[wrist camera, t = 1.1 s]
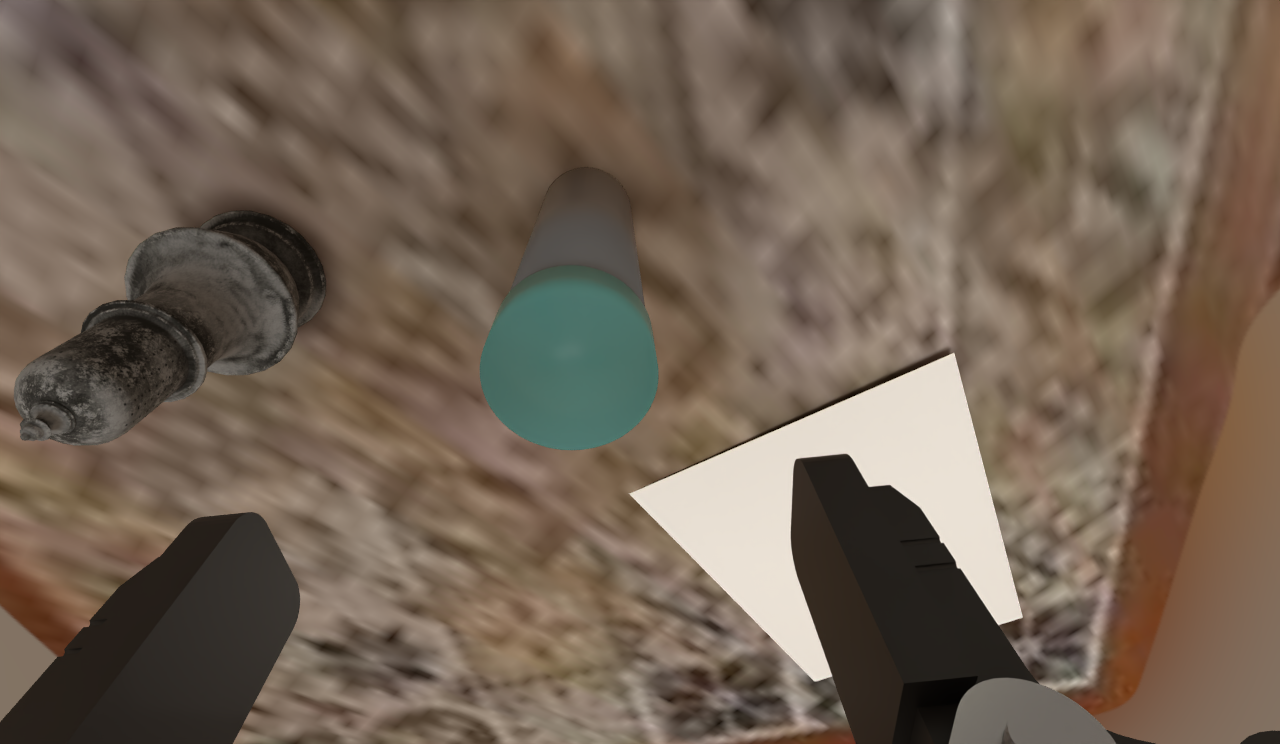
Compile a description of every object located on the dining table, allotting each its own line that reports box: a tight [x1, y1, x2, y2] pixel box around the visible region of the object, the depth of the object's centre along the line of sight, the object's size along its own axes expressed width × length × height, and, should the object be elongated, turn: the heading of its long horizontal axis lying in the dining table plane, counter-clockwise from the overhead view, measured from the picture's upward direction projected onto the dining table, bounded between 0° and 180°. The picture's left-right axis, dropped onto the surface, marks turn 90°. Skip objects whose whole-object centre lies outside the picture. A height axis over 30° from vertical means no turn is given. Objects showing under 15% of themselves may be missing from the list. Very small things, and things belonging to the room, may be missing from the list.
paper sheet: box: [630, 353, 1023, 681], centre depth 37 cm, size 24×29×1 cm
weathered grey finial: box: [14, 211, 326, 445], centre depth 20 cm, size 6×6×12 cm
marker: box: [480, 168, 658, 450], centre depth 19 cm, size 4×4×14 cm
